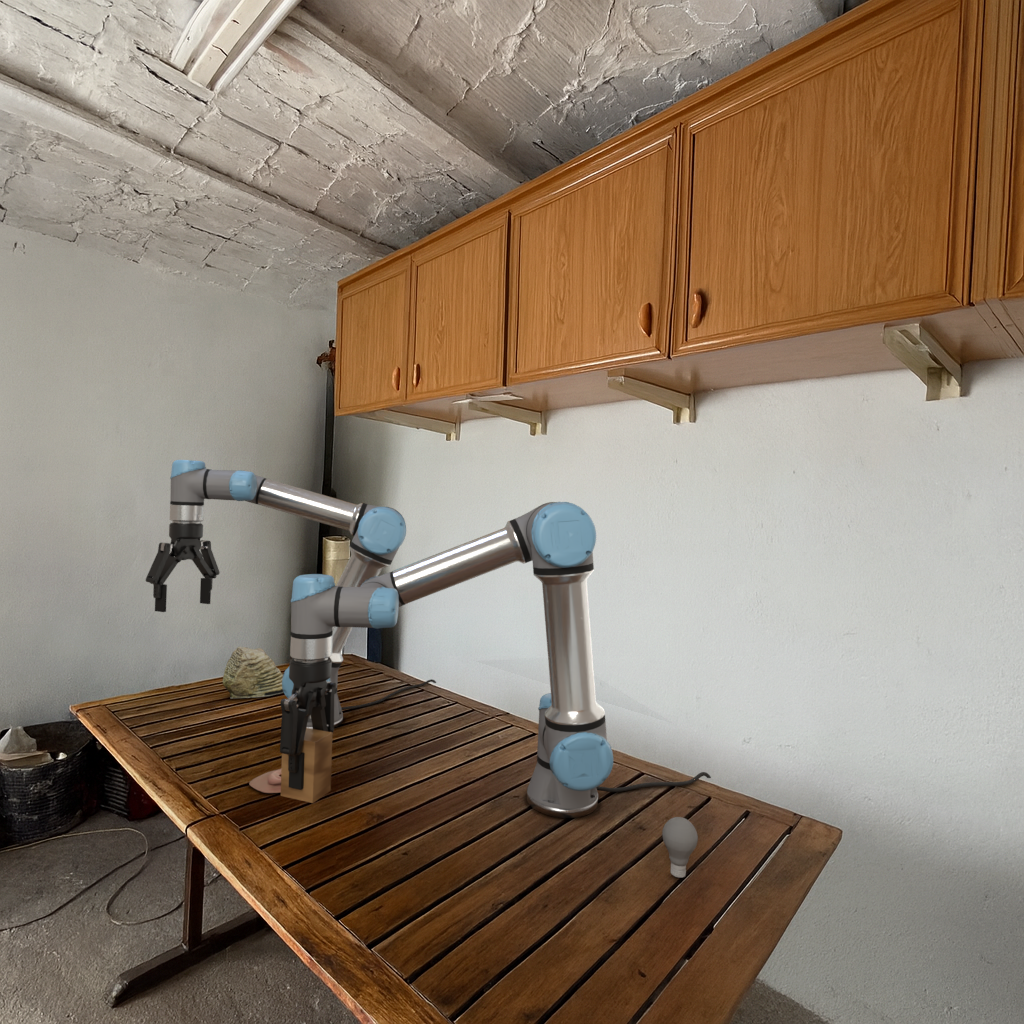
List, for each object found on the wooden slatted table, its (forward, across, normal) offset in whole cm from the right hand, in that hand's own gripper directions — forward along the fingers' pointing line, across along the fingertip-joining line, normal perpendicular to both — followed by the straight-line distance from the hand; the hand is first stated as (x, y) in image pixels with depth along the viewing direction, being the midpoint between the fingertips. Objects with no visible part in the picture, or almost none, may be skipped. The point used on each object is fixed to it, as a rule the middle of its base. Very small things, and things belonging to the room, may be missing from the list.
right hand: (306, 780), depth 119 cm
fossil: (+10, -61, -66) cm, 90 cm away
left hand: (-24, -23, -55) cm, 64 cm away
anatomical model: (+10, -16, -18) cm, 26 cm away
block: (+2, 0, 0) cm, 2 cm away
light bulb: (+11, -14, +67) cm, 69 cm away
